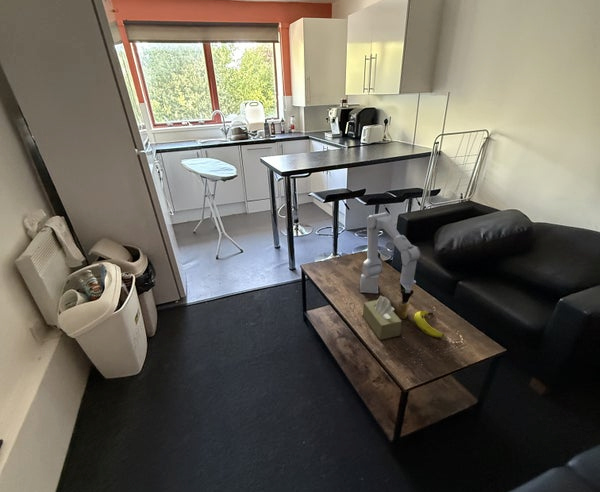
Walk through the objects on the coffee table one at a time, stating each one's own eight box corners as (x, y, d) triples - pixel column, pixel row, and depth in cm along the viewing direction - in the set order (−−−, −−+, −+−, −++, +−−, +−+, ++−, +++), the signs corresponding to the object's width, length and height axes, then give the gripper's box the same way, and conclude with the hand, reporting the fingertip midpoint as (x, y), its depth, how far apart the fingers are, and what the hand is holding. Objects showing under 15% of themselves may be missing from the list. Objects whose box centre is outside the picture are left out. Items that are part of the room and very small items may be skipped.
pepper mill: (397, 318, 152) (399, 303, 148) (396, 312, 156) (398, 298, 152) (407, 319, 152) (409, 304, 147) (406, 313, 155) (408, 298, 151)
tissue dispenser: (400, 336, 141) (405, 307, 133) (380, 340, 139) (383, 311, 131) (380, 311, 157) (383, 284, 149) (362, 315, 155) (364, 288, 147)
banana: (436, 334, 135) (459, 327, 142) (407, 311, 148) (429, 306, 155) (433, 343, 137) (455, 335, 144) (404, 319, 150) (426, 313, 157)
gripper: (419, 281, 136) (414, 307, 143) (415, 265, 149) (411, 289, 155) (402, 280, 138) (398, 305, 144) (399, 264, 150) (396, 288, 157)
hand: (404, 297), depth 150 cm, fingers open, 7 cm apart
